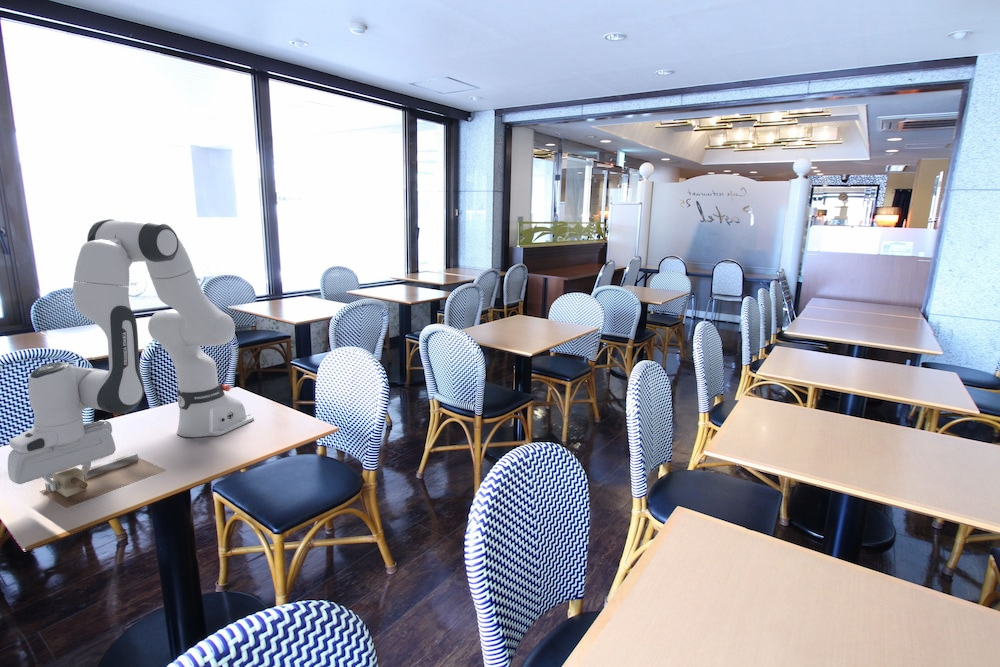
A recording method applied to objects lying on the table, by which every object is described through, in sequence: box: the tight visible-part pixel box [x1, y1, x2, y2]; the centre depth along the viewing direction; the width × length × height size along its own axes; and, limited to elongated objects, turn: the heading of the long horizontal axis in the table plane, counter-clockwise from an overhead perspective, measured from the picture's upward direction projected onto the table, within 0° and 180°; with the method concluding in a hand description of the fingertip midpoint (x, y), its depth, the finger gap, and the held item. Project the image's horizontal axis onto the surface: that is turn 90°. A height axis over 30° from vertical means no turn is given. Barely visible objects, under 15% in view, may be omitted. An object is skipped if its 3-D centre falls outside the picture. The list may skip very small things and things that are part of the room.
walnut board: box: [39, 452, 167, 509], centre depth 132 cm, size 22×14×4 cm, turn 150°
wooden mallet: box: [52, 466, 88, 497], centre depth 125 cm, size 4×11×5 cm, turn 60°
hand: (69, 484), depth 127 cm, fingers closed on wooden mallet, 4 cm apart
